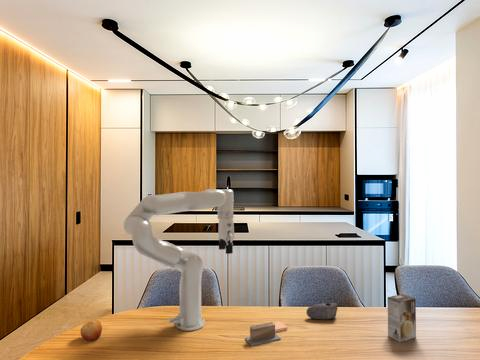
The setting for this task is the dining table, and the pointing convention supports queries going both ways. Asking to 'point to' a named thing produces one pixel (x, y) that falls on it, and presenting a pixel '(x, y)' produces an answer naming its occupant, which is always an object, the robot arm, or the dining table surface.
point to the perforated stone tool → (322, 311)
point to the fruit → (91, 330)
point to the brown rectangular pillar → (262, 331)
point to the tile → (280, 327)
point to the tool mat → (262, 340)
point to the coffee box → (401, 317)
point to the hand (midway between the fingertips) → (225, 251)
